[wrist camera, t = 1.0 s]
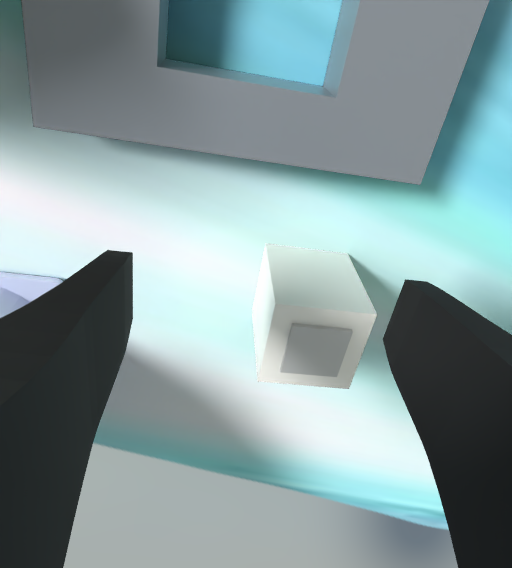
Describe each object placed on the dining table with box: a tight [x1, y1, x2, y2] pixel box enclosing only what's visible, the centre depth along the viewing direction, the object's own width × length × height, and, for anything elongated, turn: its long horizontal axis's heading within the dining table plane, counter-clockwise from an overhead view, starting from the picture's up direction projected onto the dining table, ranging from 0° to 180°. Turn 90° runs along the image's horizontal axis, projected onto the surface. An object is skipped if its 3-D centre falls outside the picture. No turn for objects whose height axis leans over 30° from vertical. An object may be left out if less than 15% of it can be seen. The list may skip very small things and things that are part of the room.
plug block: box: [252, 243, 377, 389], centre depth 20 cm, size 4×4×5 cm
